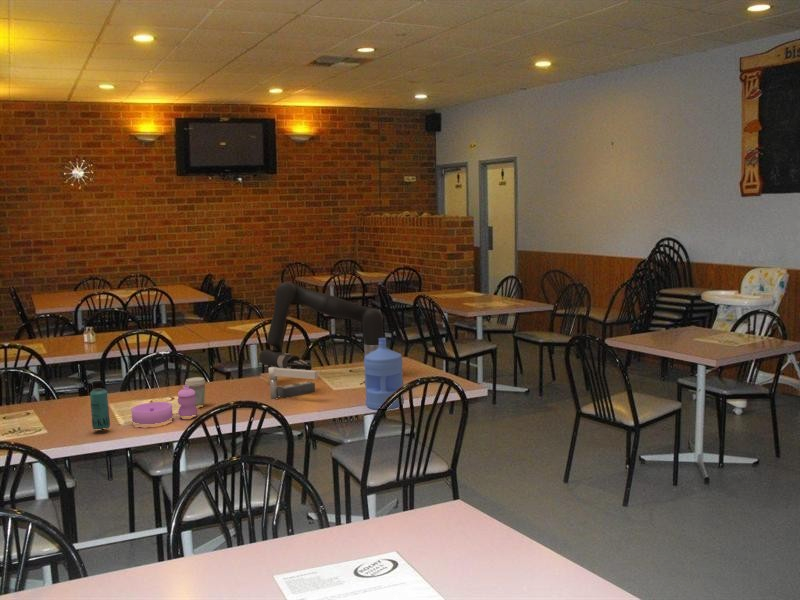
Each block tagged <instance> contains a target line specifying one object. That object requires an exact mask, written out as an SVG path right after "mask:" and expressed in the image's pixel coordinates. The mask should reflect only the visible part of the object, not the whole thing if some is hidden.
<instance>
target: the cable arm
mask: <svg viewBox="0 0 800 600" xmlns="http://www.w3.org/2000/svg"><path fill="white" fill-rule="evenodd" d="M318 374H319V372H318V370H312V369H311V370H298V369H286V368H278V367H276V366H271V367H270V366H269V367H268V379H269V380H270V379H275V378H277V379H278V377H284V378H294V379H295V378H296V379H308V380H309V379H310V380H316V379H319V375H318Z"/></svg>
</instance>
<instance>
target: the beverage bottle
mask: <svg viewBox="0 0 800 600" xmlns="http://www.w3.org/2000/svg"><path fill="white" fill-rule="evenodd" d="M91 383H92V384H91V387H92V388H94V389H93V390H91V391H90V393H89V397H90V398H89V399H90V409H91V410H90V412H91V413H90V414H91V427H92V429H103V428H108V427H110V426H111V420H110V418H111V417H110V408H109V399H108V391H107V390H106V389H105V388H102V387H104V386H105V384H104V380H101V379H100V380H99V379H98V380H94V381H92V382H91ZM108 429H109V428H108Z"/></svg>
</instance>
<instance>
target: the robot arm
mask: <svg viewBox="0 0 800 600" xmlns="http://www.w3.org/2000/svg"><path fill="white" fill-rule="evenodd" d="M291 303H297V304H300V305H303V306H306V307H308V308H310V309H311V310H314V311H315V312H318V313H320V314H323V315H326V316H330V317H332V318H339V319H346V320H347V319H348V320H353V321H356V322H358V323H361V324H362V331H363V336H362V337H363V347H364V349H363V350H364V356H365V355H367V354H369V353H371V352H373V351H375V350H377V349H378V348H379V338H385V337H384V316H383V313H382V311H380V310H379V309H377V308H373V307H369V306H363V305H358V304H356V303H353V302H351V301H349V300H346V299H343V298H340V297H337V296H333V295H331V294H329V293H328V294H327V293H323V292H319V291H315V290H314V291H313V290H309V289H307V288H304V287H301V286H299V285H297V284H295V283H293V282H290V281H285V282H281V283H279V284H278V285H277V287H276V288H275V298H274V309H273V314H272V318H271V319H272V320H271V322H270V326H269V330H268V334H267V339H266V343H267V344H268V345H270V346H273V349H263V350H262V351H261V352H260V353H259V355H258V356H259V357H258V360H259V361H260V363H261V364H262V365H265V366H269V367H270V366H271V367H277V368H286V369H298V370H311V371H312V370H313V369H312V367H313V366H312V360H311V359H308V360H306V361H305V360H303V359H301V358H300V357H299V356H298V355H296V354H293V353H292V354H291V353H285V352H283V341H284V340H283V339H284V335H285V332H286V331H285V330H286V326H287V325H286V323H287V316H288V312H289V309H290V306H291Z"/></svg>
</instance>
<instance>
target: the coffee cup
mask: <svg viewBox="0 0 800 600" xmlns="http://www.w3.org/2000/svg"><path fill="white" fill-rule="evenodd" d="M206 383H207V382H206V380H205V378H204V377H201V376H198V377H197V376H196V377H189V378H186V379H185V382H184V386H186V385H188V386H189V389H193V390H194V391H195V395H194V396H195V397H196V402H195V403H194V405H195V406H198V405H203V404H204V405H205V394H206V392H205V391H206Z"/></svg>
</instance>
